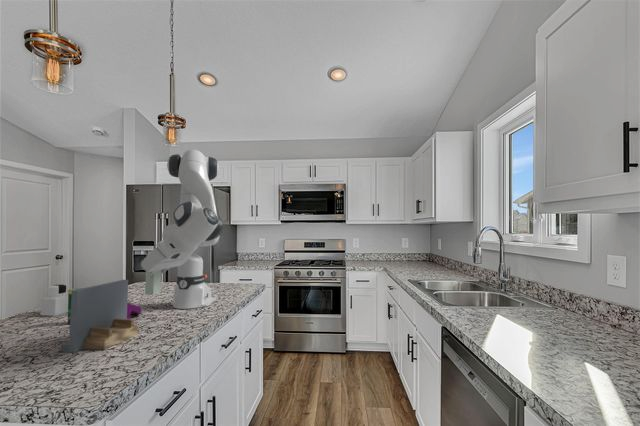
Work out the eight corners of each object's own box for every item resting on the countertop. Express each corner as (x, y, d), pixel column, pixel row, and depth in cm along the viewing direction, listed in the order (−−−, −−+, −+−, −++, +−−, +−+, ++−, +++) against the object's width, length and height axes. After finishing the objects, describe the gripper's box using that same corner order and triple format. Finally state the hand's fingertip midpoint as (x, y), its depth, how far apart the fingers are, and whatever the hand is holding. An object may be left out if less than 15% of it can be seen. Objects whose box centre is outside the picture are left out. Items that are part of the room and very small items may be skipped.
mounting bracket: (117, 330, 127) (89, 323, 111) (124, 309, 131) (97, 300, 115) (140, 330, 127) (115, 323, 111) (146, 309, 131) (122, 300, 115)
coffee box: (66, 325, 115) (68, 290, 115) (66, 323, 117) (68, 288, 118) (92, 321, 119) (94, 287, 120) (93, 319, 122) (94, 286, 122)
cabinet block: (152, 292, 108) (153, 263, 109) (160, 292, 108) (161, 263, 108) (145, 294, 104) (146, 265, 105) (153, 294, 104) (154, 265, 104)
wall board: (113, 329, 111) (115, 279, 112) (126, 330, 110) (128, 279, 111) (59, 351, 91) (63, 290, 92) (74, 352, 90) (77, 291, 91)
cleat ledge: (119, 332, 107) (120, 317, 107) (137, 334, 106) (138, 318, 106) (83, 348, 93) (84, 330, 93) (104, 349, 92) (105, 331, 92)
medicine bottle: (56, 310, 134) (58, 283, 134) (71, 311, 133) (72, 283, 133) (39, 315, 127) (41, 286, 127) (54, 316, 126) (56, 287, 126)
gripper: (190, 239, 116) (166, 264, 117) (155, 241, 96) (125, 272, 97) (201, 251, 115) (176, 276, 116) (168, 256, 95) (138, 286, 96)
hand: (153, 274), depth 106 cm, fingers closed on cabinet block, 4 cm apart
